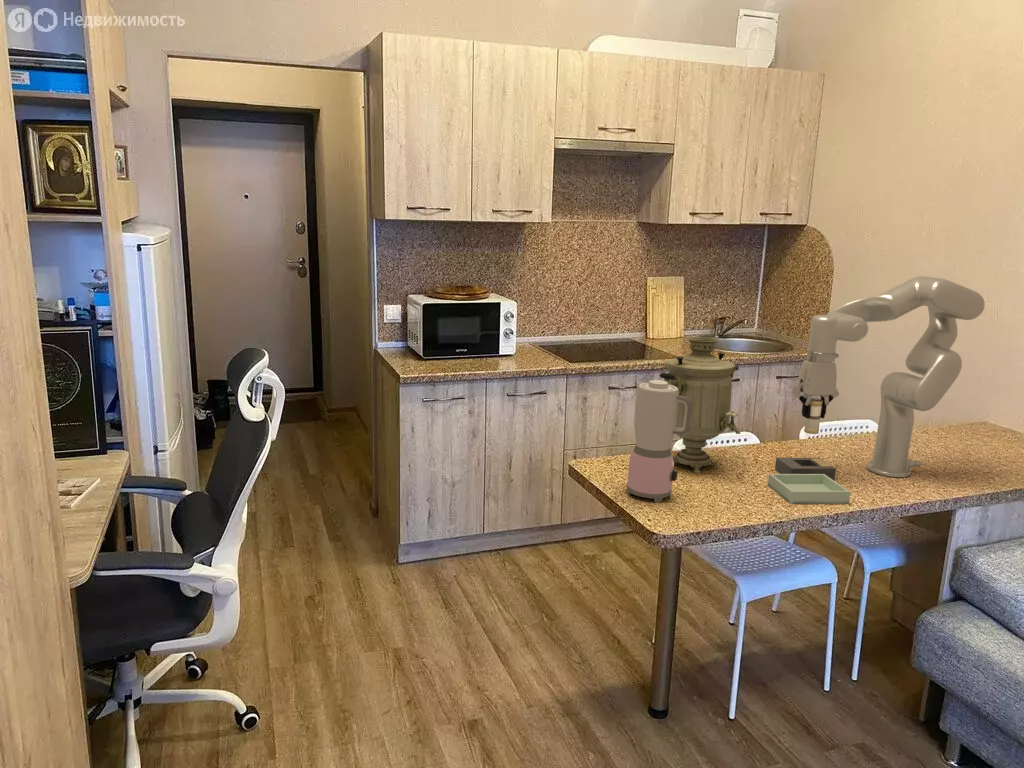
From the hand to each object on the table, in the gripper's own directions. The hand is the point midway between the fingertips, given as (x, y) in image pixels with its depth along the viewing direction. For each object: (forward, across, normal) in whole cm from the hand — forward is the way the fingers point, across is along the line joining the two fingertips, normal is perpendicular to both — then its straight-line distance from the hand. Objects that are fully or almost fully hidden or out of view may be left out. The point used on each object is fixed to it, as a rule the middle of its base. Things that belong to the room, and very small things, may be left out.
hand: (813, 416), depth 220 cm
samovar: (+18, +33, -6) cm, 38 cm away
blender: (+18, +53, +16) cm, 58 cm away
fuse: (+5, 0, 0) cm, 5 cm away
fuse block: (+19, +1, 0) cm, 19 cm away
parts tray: (+18, +8, +15) cm, 25 cm away
